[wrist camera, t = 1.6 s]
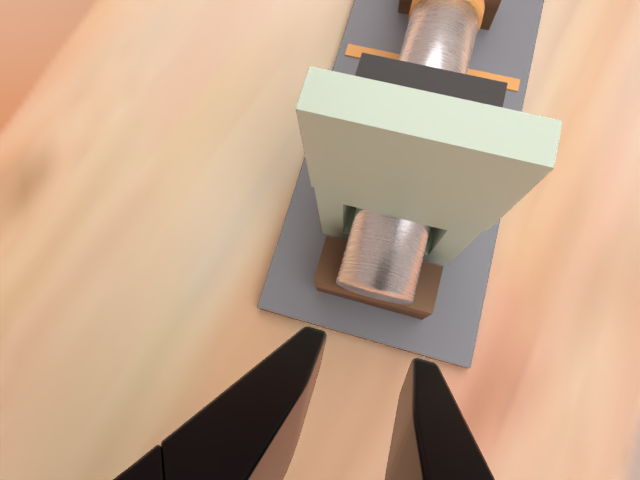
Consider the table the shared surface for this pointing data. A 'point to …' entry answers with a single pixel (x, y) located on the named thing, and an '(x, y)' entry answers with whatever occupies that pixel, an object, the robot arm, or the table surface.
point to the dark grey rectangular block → (432, 79)
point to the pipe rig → (394, 233)
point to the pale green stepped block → (418, 157)
